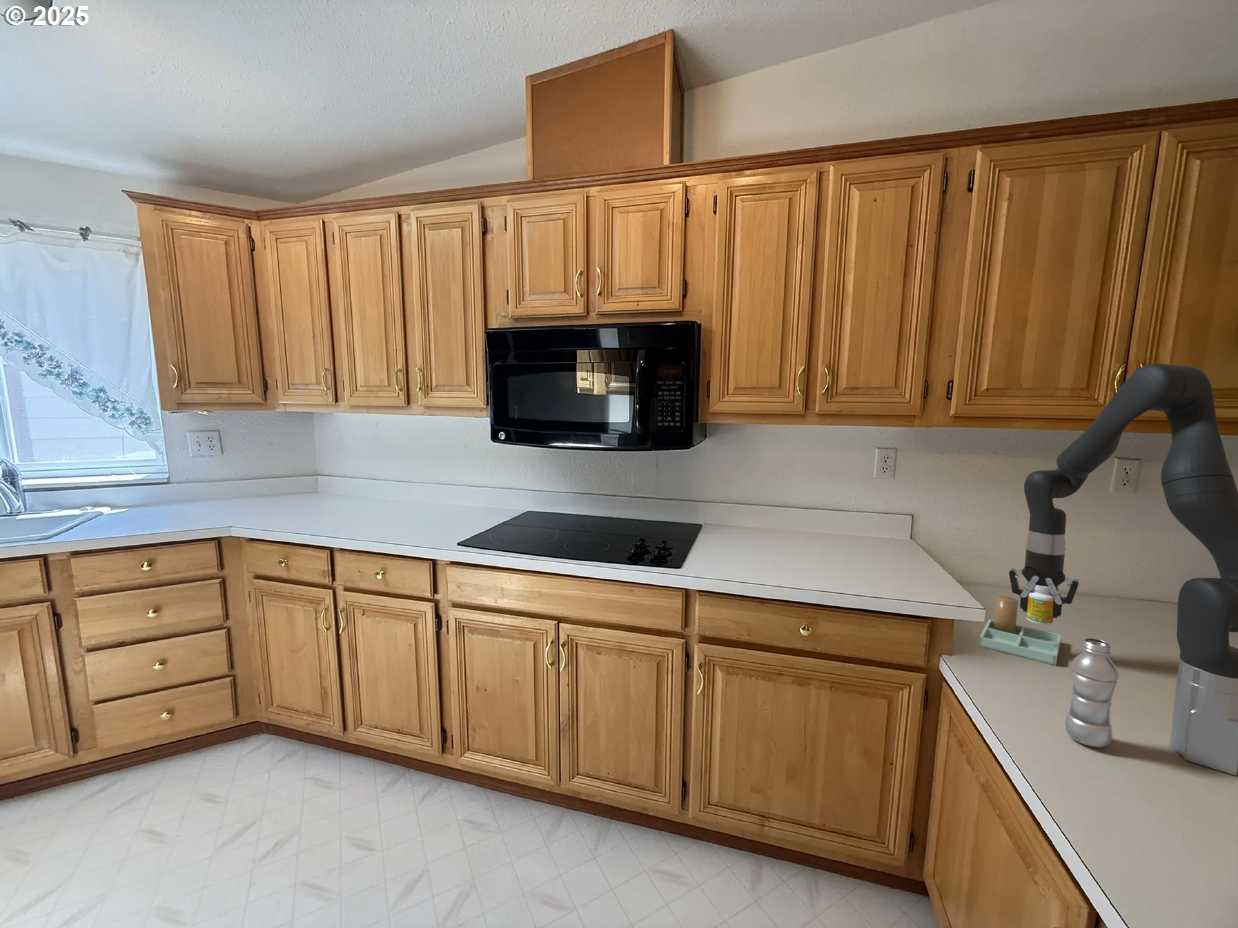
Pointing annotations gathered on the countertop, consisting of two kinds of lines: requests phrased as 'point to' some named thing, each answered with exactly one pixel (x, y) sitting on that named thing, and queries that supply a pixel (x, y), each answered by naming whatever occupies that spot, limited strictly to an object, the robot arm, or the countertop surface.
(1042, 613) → the supplement bottle
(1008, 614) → the tan cylinder
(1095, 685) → the plastic bottle
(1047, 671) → the countertop surface
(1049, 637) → the tray
